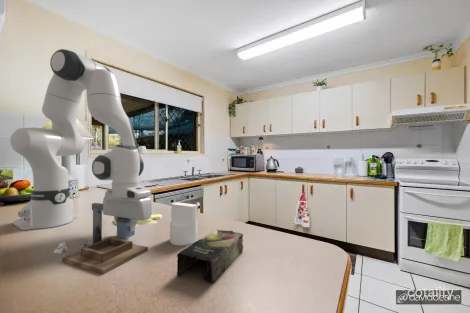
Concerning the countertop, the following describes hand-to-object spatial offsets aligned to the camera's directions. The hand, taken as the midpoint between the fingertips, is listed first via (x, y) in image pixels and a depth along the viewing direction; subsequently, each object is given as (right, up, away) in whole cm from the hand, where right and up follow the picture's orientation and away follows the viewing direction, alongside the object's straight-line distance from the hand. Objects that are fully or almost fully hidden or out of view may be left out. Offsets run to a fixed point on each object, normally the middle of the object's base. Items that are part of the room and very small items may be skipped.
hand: (125, 229), depth 76 cm
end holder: (+2, -2, -15) cm, 15 cm away
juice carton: (+33, -3, -18) cm, 38 cm away
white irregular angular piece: (-14, -3, -12) cm, 19 cm away
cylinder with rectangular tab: (+21, -3, -3) cm, 22 cm away
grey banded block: (0, -2, 0) cm, 2 cm away
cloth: (-2, -3, +18) cm, 19 cm away
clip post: (-5, -2, -8) cm, 9 cm away
